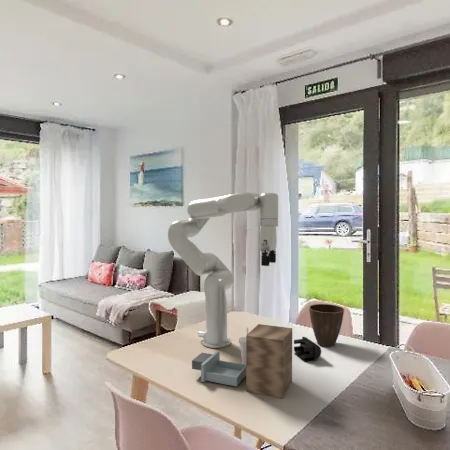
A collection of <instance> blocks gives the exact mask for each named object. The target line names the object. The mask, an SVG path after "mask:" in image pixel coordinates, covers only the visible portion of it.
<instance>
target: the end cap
mask: <svg viewBox="0 0 450 450" xmlns="http://www.w3.org/2000/svg"><path fill="white" fill-rule="evenodd" d="M297 344H299V345H298V346H297ZM293 345H296V346H293V351H294V355H295V356H296V357H297V358H298V359H300V360H301V361H303V362H304V363H312V362H316V361H317V360H318V359H319V358H320V357H321V355H322V349H321V347H320V345H319V344H318V343H316V342H314V341H312V340H311V339H309V338H308V337H306V336H302V338H299V339H294V340H293Z"/></svg>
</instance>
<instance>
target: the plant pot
mask: <svg viewBox="0 0 450 450" xmlns="http://www.w3.org/2000/svg"><path fill="white" fill-rule="evenodd" d="M308 310H309V317H310V322H311V327H312V330H313V333H314V334H313V335H314V337H315V340H316V344H317V345H318V346H321V347H326V348H327V347H329V348H330V347H335V345H336V342H337V340H338V337H339V335H340V332H341V329H342V325H343V324H342V323H343V320H344V319H343V317H344V313H345V308H343V307H342V306H340V305H334V304H327V303H317V304H312V305H309V307H308Z"/></svg>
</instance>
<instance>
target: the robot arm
mask: <svg viewBox="0 0 450 450" xmlns="http://www.w3.org/2000/svg"><path fill="white" fill-rule="evenodd" d="M186 210H187V215H188V216H189V217H188V219H178V220H175V221H172V223H171V224H170V225H169V226H168V227H169V228H168V230H167V239H168V242H169V244H170V247H171V248H172V249H173V250H174V251H175V252H176V253H177V255H179V257H180V258H181V259H182V260H183V261H184V263H185V264H186V265H187V266H188V267H189V268H190V269H191V270H192V272H193V273H194V274H195V275H197V276H199V277H201V276H205V275H207V276H206V277H205V278H204V282H203V291H204V292H203V293H204V297H205V331H202V330H201V331H198V333H197V335H198V336H197V337H198V338H203V339H202V340H201V341H202V342H201V343H202V346H205V347H207V348H211V349H221V348H225V347H229V345H231V341H232V340H231V338H229V337H228V300H227V296H226V295H227V294H226V292H227V291H228V290H229V289H231V288H232V287H233V285H234V283H235V278H234V275H233V273H232V272H231V270H230V269H229V268H228V267H227V266H226V265H225V264H224V263H223V262H222V260H221V259H220V258H219V257H218V256H217V255H216V254H214V253H212V252H202V251H201V250H200V249H199V248H198V246H197V244H195V243H194V242H192V241H191V240H190V239H189V238H194V237H195V236H197V235H198V234H199V233H200V232H201V230H202V229H203V228H204V227H205V225H207V223H208V222H209V220H210V219H211V218H216V217H223V216H225V215H227V214H233V213H239V212H241V213H242V212H249V211H252V212H253V211H259V227H260V229H259V231H260V232H259V246H258V247H259V248H258V249H259V250H260V252H261V255H260V257H261V259H260V260H261V261H260V263H261V264H260V265H261V267H262V266H263V267H269V266H270V264H273V263H274V264H275V263H276V261H277V259H276V258H277V257H276V256H277V251H276V249H277V244H278V243H277V239H278V238H277V227H279V195H278V194H277V193H275V192H263V193H255V192H249V191H248V192H247V191H246V192H239V193H232V194H227V195H221V196H214V197H207V198H201V199H196V200H193V201H191V202H189V203H188V205H187V208H186Z"/></svg>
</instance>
